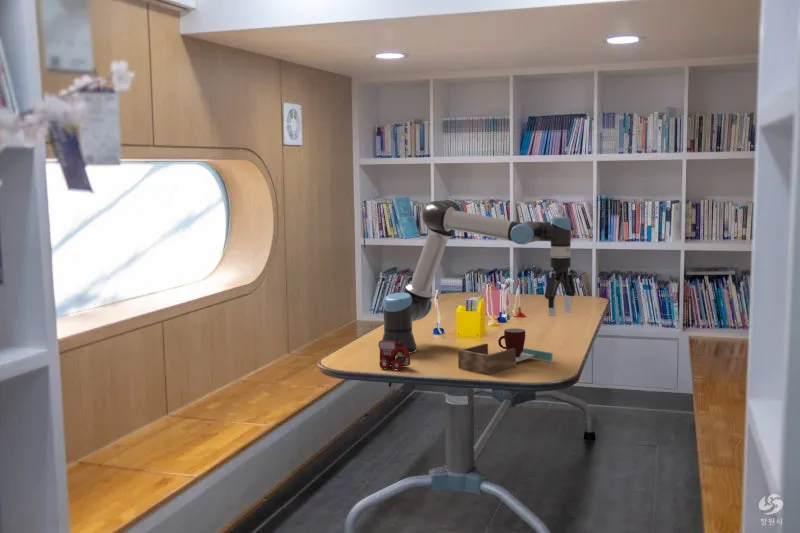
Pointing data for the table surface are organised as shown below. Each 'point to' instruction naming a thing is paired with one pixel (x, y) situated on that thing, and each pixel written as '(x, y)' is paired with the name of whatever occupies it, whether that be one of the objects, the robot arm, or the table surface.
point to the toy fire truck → (393, 354)
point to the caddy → (486, 359)
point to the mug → (513, 340)
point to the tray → (534, 355)
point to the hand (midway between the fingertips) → (560, 314)
